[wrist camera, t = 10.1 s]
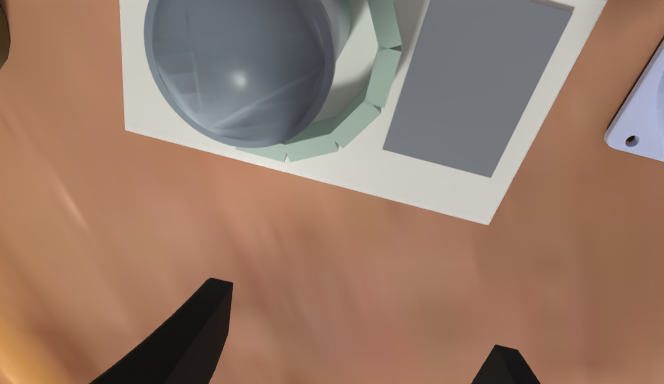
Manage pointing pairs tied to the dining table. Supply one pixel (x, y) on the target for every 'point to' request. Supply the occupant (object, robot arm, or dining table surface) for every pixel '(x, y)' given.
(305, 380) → the dining table surface
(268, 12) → the tube
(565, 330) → the dining table surface
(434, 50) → the white base plate
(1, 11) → the cork
